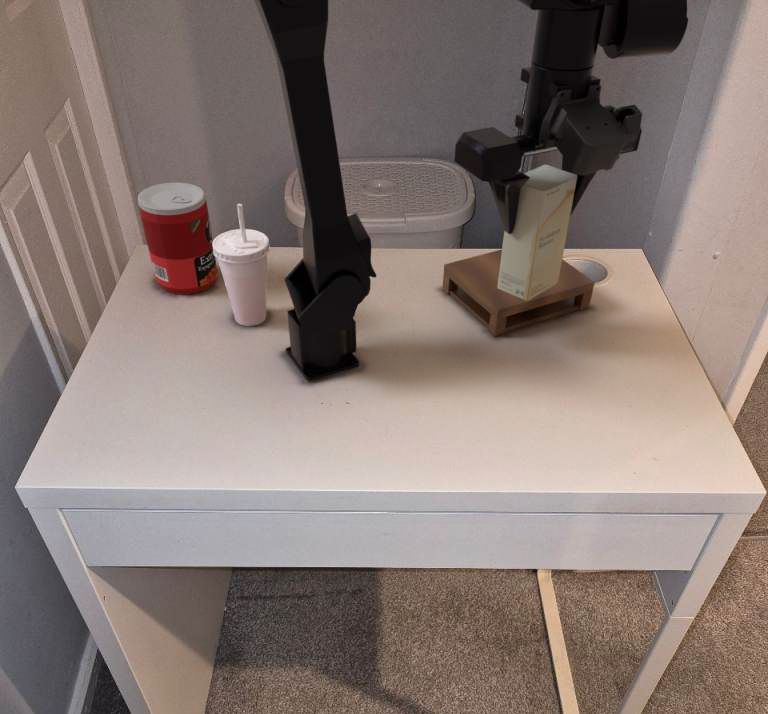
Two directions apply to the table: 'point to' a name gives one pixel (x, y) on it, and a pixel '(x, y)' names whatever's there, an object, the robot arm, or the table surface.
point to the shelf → (503, 310)
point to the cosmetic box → (537, 233)
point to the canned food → (178, 237)
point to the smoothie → (244, 270)
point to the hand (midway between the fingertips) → (536, 225)
